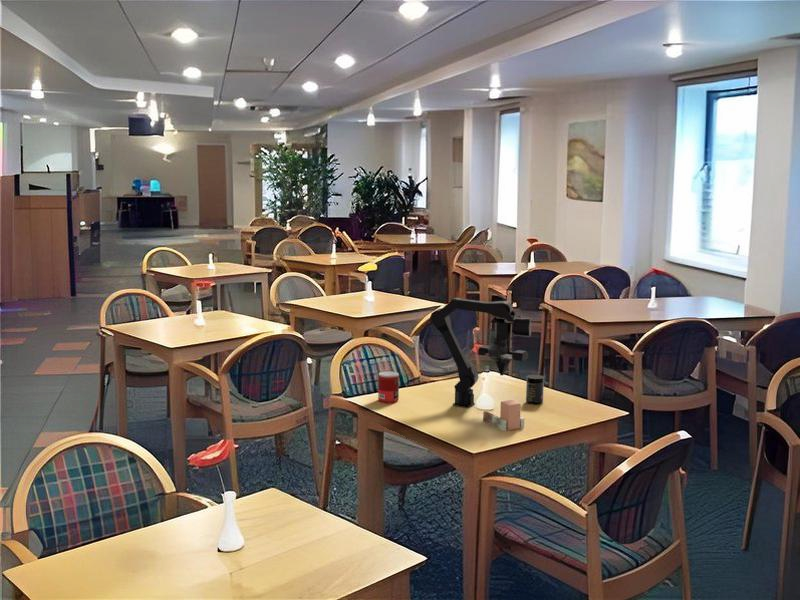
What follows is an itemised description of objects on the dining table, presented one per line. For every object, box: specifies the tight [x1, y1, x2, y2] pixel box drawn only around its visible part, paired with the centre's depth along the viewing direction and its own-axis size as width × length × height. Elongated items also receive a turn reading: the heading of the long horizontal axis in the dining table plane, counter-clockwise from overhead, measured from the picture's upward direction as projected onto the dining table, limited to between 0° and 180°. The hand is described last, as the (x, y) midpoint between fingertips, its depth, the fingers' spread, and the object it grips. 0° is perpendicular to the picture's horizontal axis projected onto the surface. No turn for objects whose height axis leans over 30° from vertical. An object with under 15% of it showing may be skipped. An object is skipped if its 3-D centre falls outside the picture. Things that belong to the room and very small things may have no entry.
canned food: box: [377, 370, 400, 404], centre depth 329 cm, size 8×8×11 cm
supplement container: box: [525, 374, 545, 406], centre depth 329 cm, size 7×7×10 cm
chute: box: [482, 410, 525, 432], centre depth 301 cm, size 13×9×4 cm
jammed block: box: [499, 399, 521, 431], centre depth 297 cm, size 5×5×9 cm
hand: (501, 375), depth 319 cm, fingers closed
